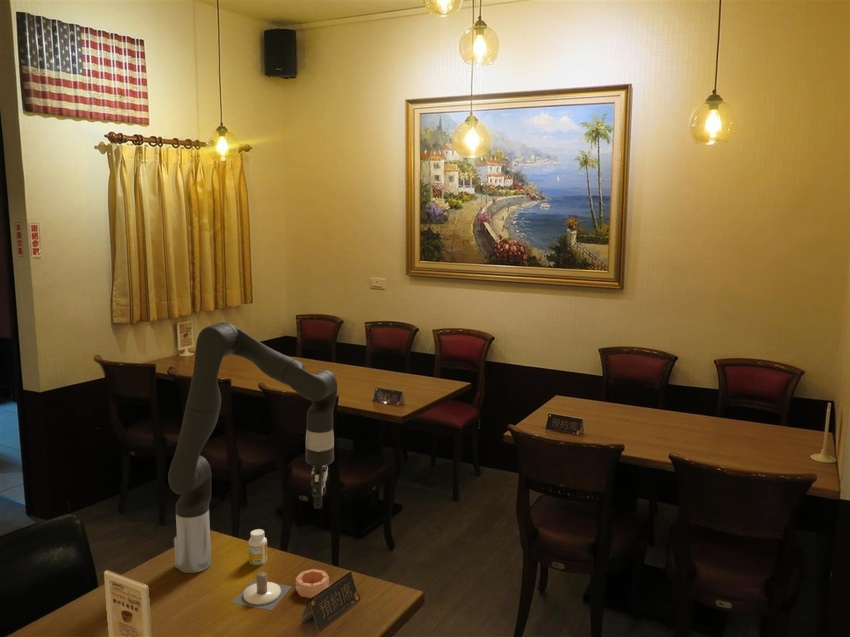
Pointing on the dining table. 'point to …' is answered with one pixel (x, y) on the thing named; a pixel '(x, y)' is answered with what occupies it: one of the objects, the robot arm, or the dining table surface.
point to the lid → (262, 591)
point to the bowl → (311, 582)
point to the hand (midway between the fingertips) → (319, 501)
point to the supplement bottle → (257, 548)
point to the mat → (269, 606)
